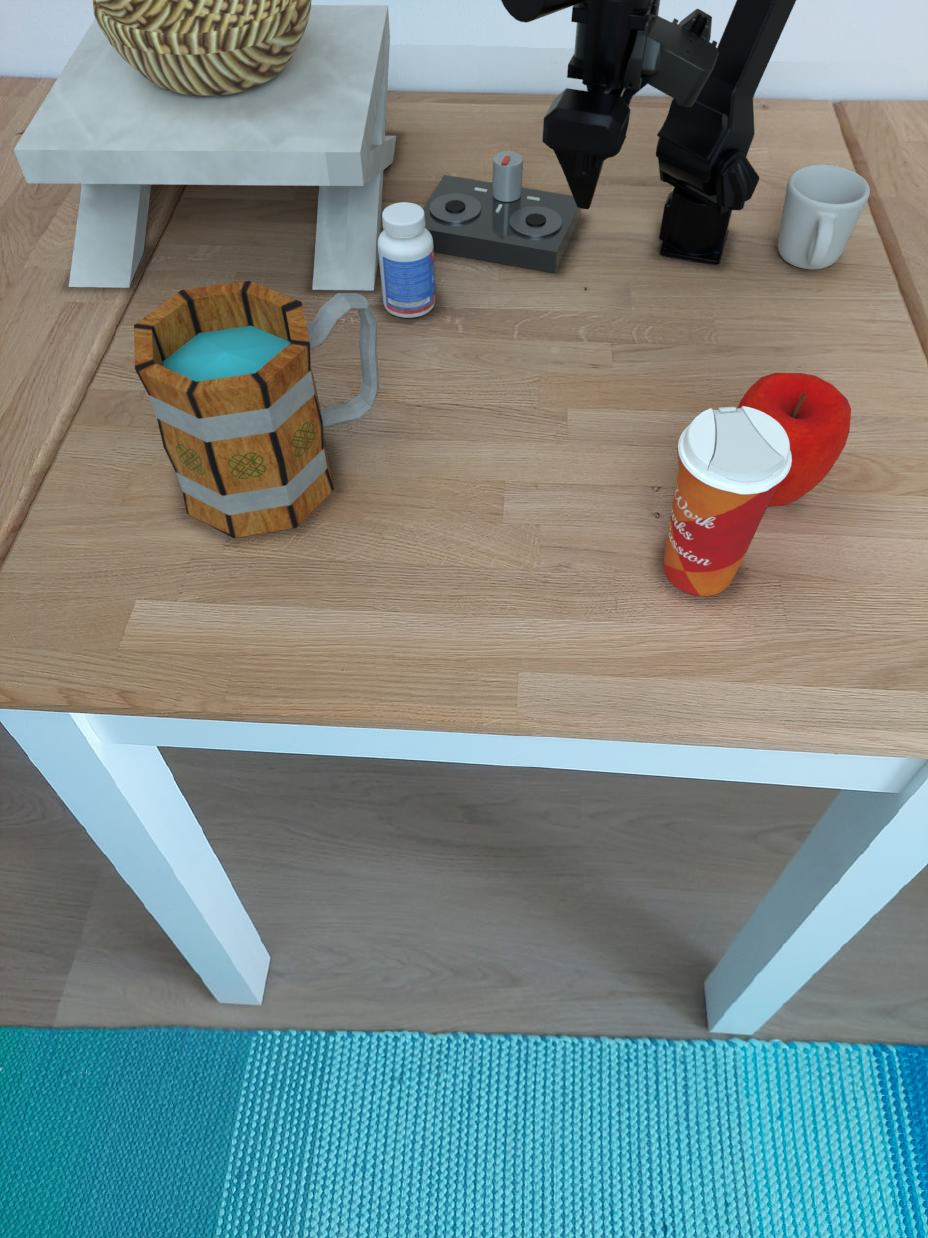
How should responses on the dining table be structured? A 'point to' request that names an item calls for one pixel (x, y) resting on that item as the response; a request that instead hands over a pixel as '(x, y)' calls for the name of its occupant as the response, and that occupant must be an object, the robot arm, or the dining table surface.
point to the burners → (521, 221)
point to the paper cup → (722, 494)
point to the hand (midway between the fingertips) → (595, 181)
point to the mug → (247, 400)
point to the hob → (502, 227)
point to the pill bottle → (406, 261)
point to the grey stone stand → (219, 122)
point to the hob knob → (507, 176)
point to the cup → (820, 214)
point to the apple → (803, 426)
